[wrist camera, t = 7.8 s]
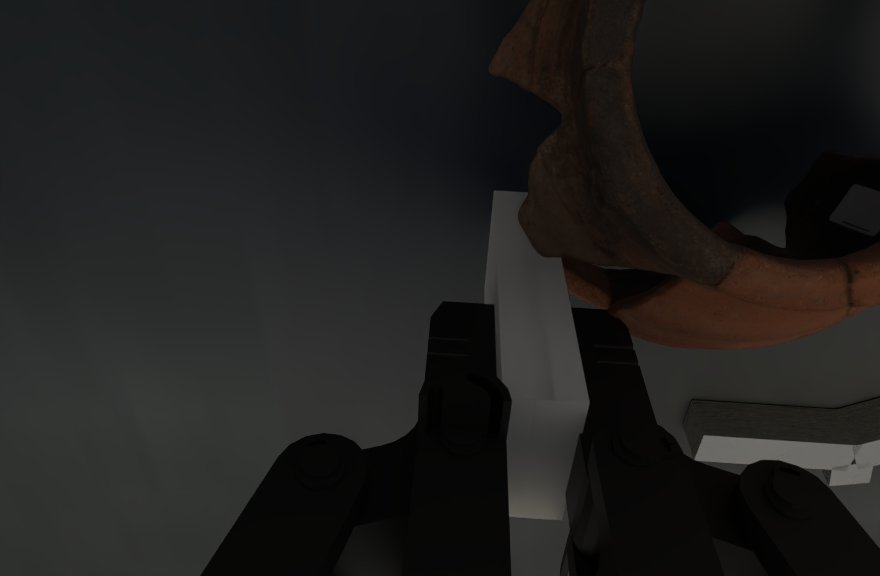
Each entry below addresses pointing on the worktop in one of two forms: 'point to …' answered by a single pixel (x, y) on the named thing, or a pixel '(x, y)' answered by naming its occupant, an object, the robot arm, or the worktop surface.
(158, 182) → the worktop surface
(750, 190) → the worktop surface
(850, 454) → the grey u-shaped piece
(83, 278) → the worktop surface
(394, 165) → the worktop surface
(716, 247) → the pottery mug
